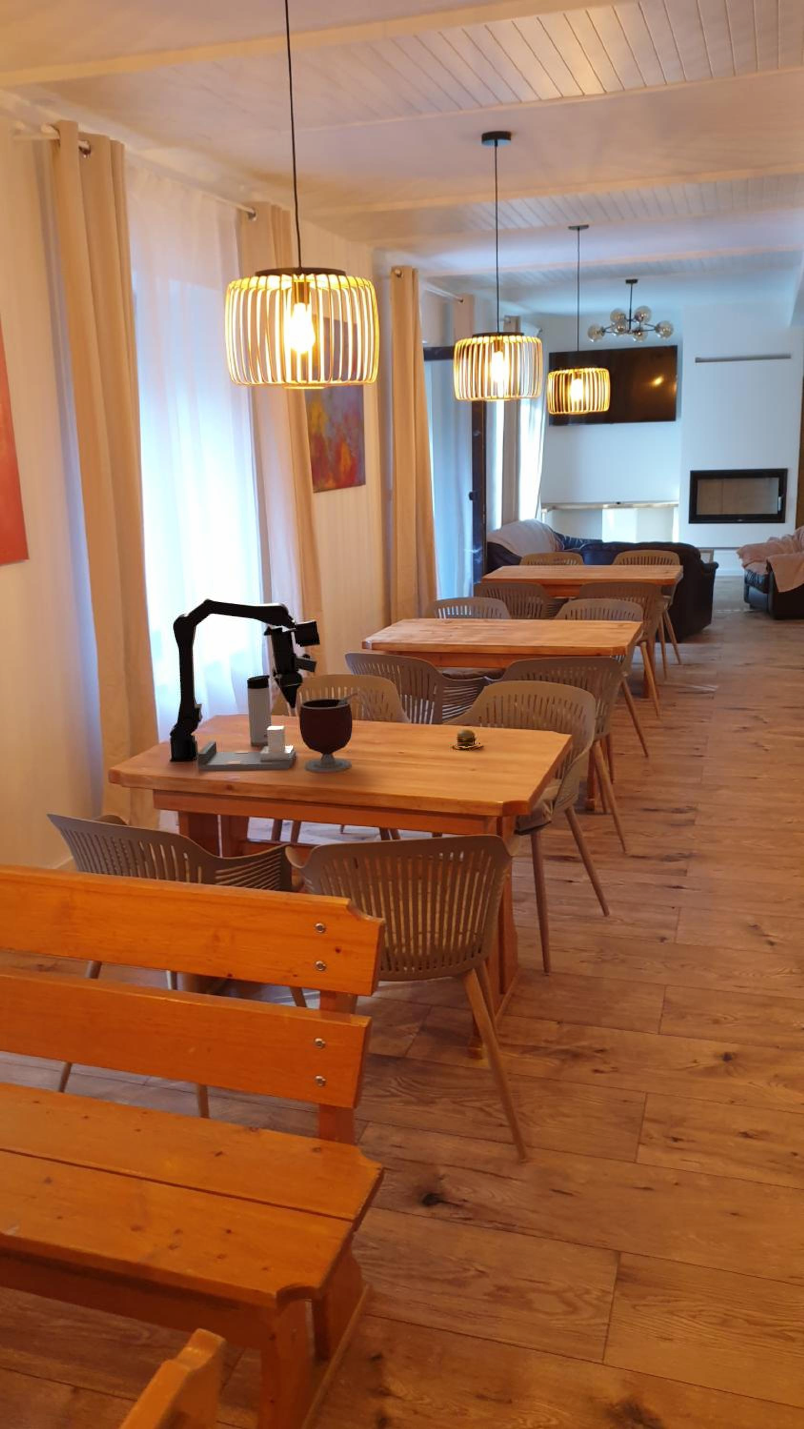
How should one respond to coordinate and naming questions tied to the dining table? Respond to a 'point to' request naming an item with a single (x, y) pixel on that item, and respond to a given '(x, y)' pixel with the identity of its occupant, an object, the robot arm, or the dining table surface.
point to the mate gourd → (326, 731)
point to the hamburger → (466, 738)
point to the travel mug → (259, 709)
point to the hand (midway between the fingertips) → (291, 705)
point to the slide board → (236, 760)
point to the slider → (276, 745)
